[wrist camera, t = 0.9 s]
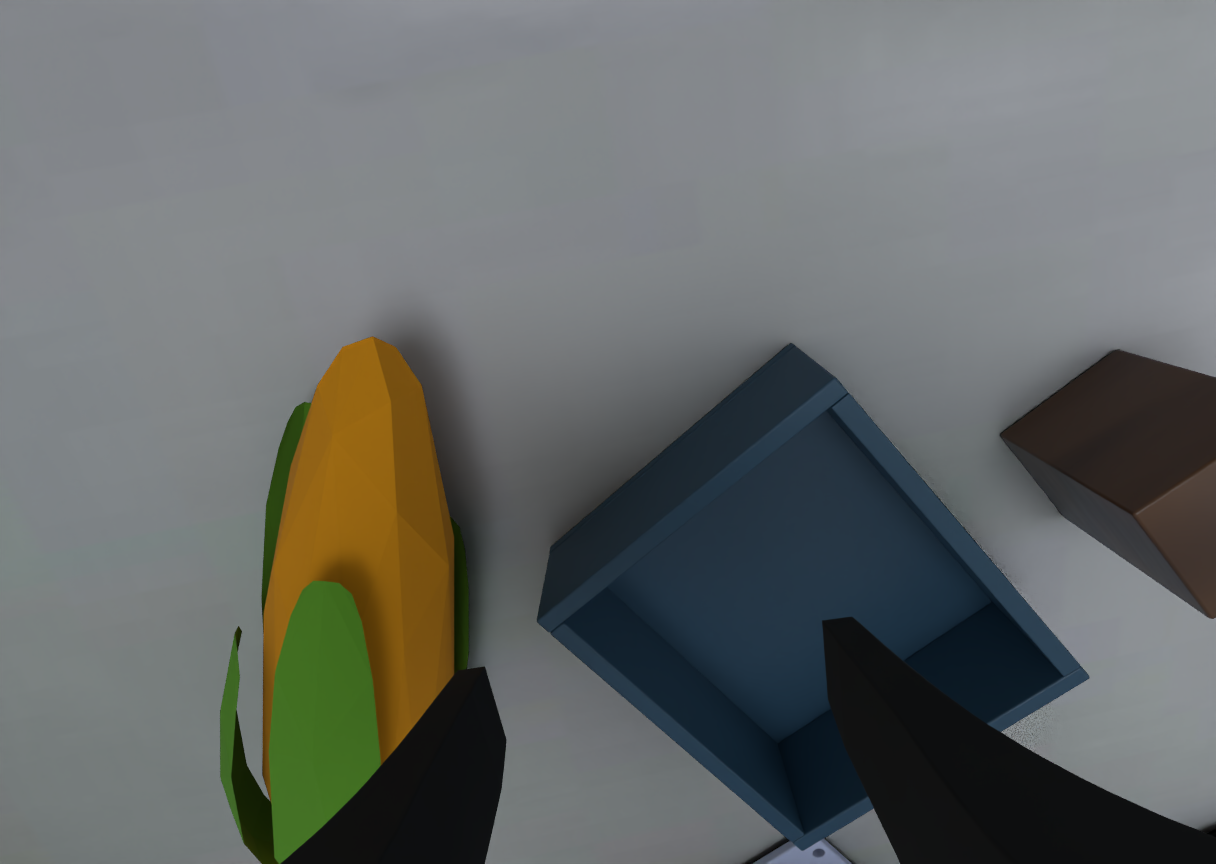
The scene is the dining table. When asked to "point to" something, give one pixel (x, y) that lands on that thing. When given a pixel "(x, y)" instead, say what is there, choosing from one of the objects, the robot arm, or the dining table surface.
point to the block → (1134, 466)
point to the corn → (347, 600)
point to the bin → (788, 593)
